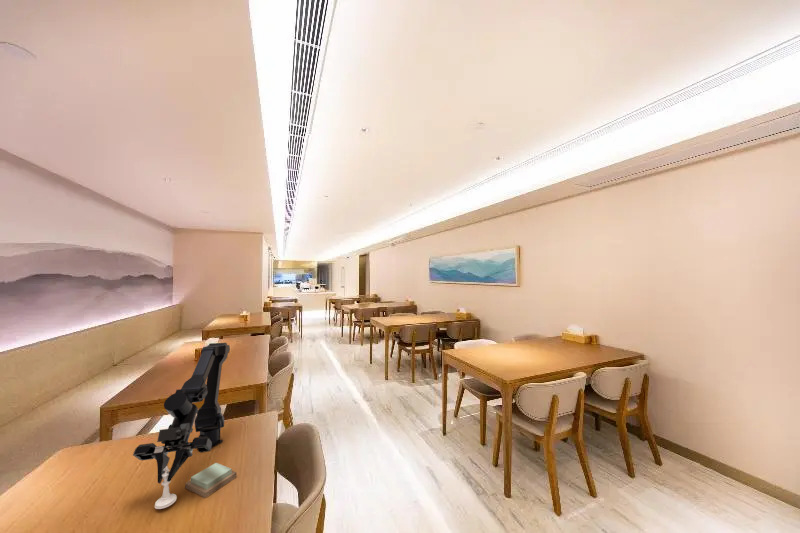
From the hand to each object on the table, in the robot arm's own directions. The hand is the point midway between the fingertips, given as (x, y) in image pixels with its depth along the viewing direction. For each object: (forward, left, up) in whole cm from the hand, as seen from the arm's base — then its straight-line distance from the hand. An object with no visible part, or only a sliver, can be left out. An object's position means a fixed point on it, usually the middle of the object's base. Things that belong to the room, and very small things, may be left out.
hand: (163, 482), depth 82 cm
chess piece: (-1, -1, -7) cm, 7 cm away
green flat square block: (-13, +1, -8) cm, 15 cm away
